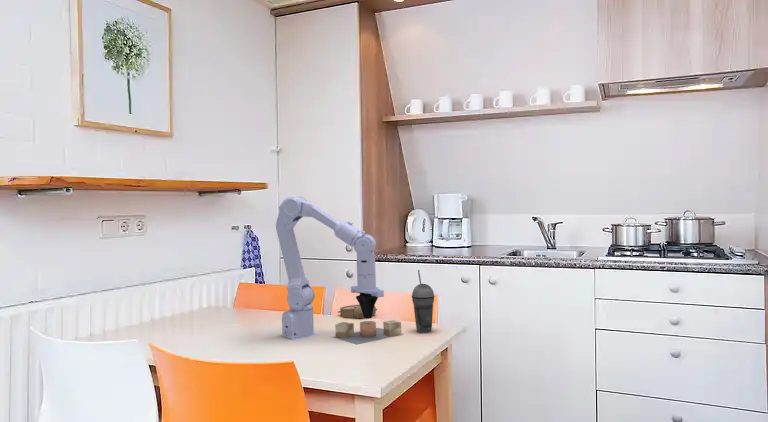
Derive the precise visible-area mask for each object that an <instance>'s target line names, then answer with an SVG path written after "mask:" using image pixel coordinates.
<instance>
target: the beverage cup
mask: <svg viewBox="0 0 768 422" xmlns="http://www.w3.org/2000/svg"><path fill="white" fill-rule="evenodd" d="M417 274H418V281H419V284H417V285H416V286H415V287H414V288H413V290H412V292H411V298H412V304H413V310H414V318H415V319H414V321H415V327H416V332H417V333H420V334H426V333H427V334H429V333H431V332H432V329H433V315H434V314H433V313H434V312H433V311H434V302H435V292H434V290H433V288H432V287H431V286H430V285H429V284H427V283H422V278H421V273H420V269H417Z"/></svg>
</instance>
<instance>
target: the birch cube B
mask: <svg viewBox="0 0 768 422" xmlns="http://www.w3.org/2000/svg"><path fill="white" fill-rule="evenodd" d="M383 329H384V335H387V336H389V338H393V337H392V336H394V337H398V335H399V336H402V335H401V333H402V322H401V321H399V320H396V319H392V320H391V319H390V320H385V321H383Z"/></svg>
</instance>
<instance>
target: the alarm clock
mask: <svg viewBox="0 0 768 422" xmlns="http://www.w3.org/2000/svg"><path fill="white" fill-rule="evenodd" d="M377 311H378V308H376V305H375V306H374V309H373V314H372V317H373V316H375V315H376V313H377ZM337 313H338V314H340V317H341V318H355V319H358V320H361V319H363V320H364V319H365V318H364V316H363V313H362V309H361V307H360V304H351V305H344V306H342V307H340V308H339V311H337Z"/></svg>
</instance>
